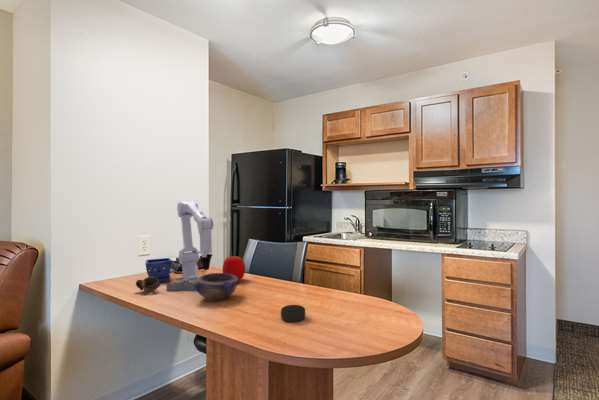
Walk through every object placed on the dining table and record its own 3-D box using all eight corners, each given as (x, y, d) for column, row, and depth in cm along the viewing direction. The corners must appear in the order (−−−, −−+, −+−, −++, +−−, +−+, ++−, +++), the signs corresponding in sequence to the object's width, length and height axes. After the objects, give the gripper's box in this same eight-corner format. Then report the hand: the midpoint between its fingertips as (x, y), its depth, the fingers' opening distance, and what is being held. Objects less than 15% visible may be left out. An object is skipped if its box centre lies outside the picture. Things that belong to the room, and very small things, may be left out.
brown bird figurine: (162, 289, 174) (163, 277, 170) (154, 302, 166) (155, 290, 162) (139, 284, 174) (139, 271, 170) (129, 297, 165) (129, 284, 161)
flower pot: (145, 280, 194) (145, 259, 194) (170, 277, 200) (170, 257, 200) (146, 285, 182) (145, 262, 182) (172, 282, 188) (172, 260, 188)
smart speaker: (291, 313, 131) (291, 302, 131) (310, 317, 125) (310, 306, 125) (276, 319, 124) (275, 308, 124) (294, 325, 118) (294, 313, 118)
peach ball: (177, 284, 175) (177, 275, 175) (185, 284, 175) (185, 275, 175) (173, 286, 171) (173, 277, 171) (182, 286, 170) (182, 277, 170)
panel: (173, 286, 177) (173, 280, 177) (219, 286, 176) (218, 280, 176) (166, 290, 169) (166, 284, 169) (214, 290, 168) (214, 284, 168)
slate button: (190, 284, 175) (190, 275, 175) (199, 284, 174) (198, 275, 174) (187, 286, 170) (187, 277, 170) (196, 286, 170) (195, 277, 170)
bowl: (228, 305, 143) (227, 281, 143) (189, 303, 146) (188, 280, 146) (244, 293, 160) (243, 272, 160) (208, 292, 164) (208, 271, 164)
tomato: (218, 282, 183) (217, 256, 183) (228, 278, 194) (228, 253, 194) (239, 283, 179) (238, 256, 179) (249, 278, 190) (248, 253, 190)
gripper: (199, 241, 179) (200, 267, 179) (195, 244, 164) (196, 272, 164) (213, 240, 180) (214, 266, 180) (210, 244, 165) (211, 272, 165)
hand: (206, 269), depth 172 cm, fingers closed
